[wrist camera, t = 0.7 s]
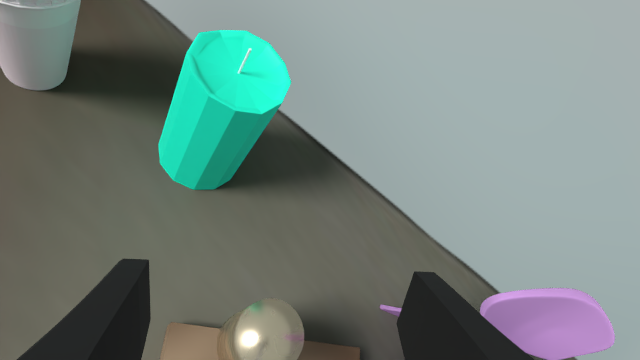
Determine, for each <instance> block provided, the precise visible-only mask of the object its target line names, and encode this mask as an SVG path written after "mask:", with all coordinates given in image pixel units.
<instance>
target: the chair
mask: <svg viewBox="0 0 640 360" xmlns="http://www.w3.org/2000/svg"><path fill="white" fill-rule="evenodd" d="M380 309H382V310H384V311H386V312H389V313H391V314H394V315H396V316H399V315H400V312H401V309H402V308H396V307H391V306H386V305H380ZM480 314H481V315H482V316H483V317H484V318H485V319H487V320H488V321H489V322H490V323H491V324H492V325H493V326H494V327H496V328H497V329H498V330H499V331H500V332H501V333H502V334H504V335H505V336H506V337H507V338H508V339H509V340H511V341H512V342H513V343H514V344H516V345H517V346H518V347H519V348H520V349H522V350H523V351H524V352H525V353H528V354H531V355H534V356H537V357H540V358H543V359H546V360H560V359H565V358H570V357H574V356H579V355H585V354H589V353H595V352H599V351H603V350H606V349H608V348H610V347H611V346H612V345H613V344H614V340H615V335H614V330H613V327H612V325H611V322H610V321H609V319H608V317H607V315H606V314H605V312H604V310H603V309H602V308H601V306H600V305H599V303H598V302H597V301H596V300H595V299H594V298H593V297H591V296H590V295H588V294H586V293H584V292H582V291H579V290H576V289H569V288H542V289H529V290H519V291H511V292H505V293H500V294H497V295H493V296H491V297H489V298H487V299H486V300H485V301H484V302H483V303H482V305H481V308H480Z"/></svg>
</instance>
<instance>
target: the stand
mask: <svg viewBox="0 0 640 360" xmlns="http://www.w3.org/2000/svg"><path fill="white" fill-rule="evenodd" d="M219 331H220V329H218V328H211V327H204V326H196V325H189V324H182V323H174V322H171V323H170V324H169V325H168V326H167V330H166V335H165V339H164V343H163V348H162V352H161V356H160V360H219V357H218V354H217V338H218V334H219ZM297 360H360V348H357V347H350V346H343V345H335V344H328V343H321V342H313V341H306V340H304V344H303V348H302V351H301V353H300V355H299V357H298V358H297Z"/></svg>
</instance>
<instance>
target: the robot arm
mask: <svg viewBox="0 0 640 360" xmlns="http://www.w3.org/2000/svg"><path fill="white" fill-rule="evenodd" d="M149 323H150V286H149V260H141V259H122V260H121V261H119V262H118V263H117V264H116V265H115V266H114V268H113V269H112V270H111V271H110V272H109V273H108V274H107V275H106V276H105V277H104V278H103V279H102V280H101V281H100V283H99V284H98V285H97V286H96V287H95V288H94V289H93V290H92V291H91V292H90V293H89V294H88V295H87V296H86V297H85V298H84V299H83V300H82V301H81V302H80V303H79V304H78V305H77V306H76V307H75V308H74V309H73V310H71V311H70V312H69V313H68V314H67V315H66V316H65V317H64V318H63V319H62V320H61V321H60V322H59V323H58V324H57V325H56V326H55V327H53V328H52V329H51V330H50V331H49V332H48V333H47V334H46V335H44V336H43V337H42V338H41V339H40V340H39V341H38V342H36V343H35V344H34V345H33V346H32V347H31V348H30V349H29V350H27V351H26V352H25V353H24V354H23V355H22V356H20V357H19V358H18V359H17V360H141V358H142V353H143V349H144V345H145V341H146V337H147V332H148V328H149ZM397 327H398V332H399V336H400V341H401V345H402V349H403V353H404V357H405V360H534V359H533V358H532V357H530V356H529V355H528V354H527V353H525V352H524V351H523V350H522V349H520V348H519V347H518V346H517V345H516V344H514V343H513V342H512V341H511V340H509V339H508V338H507V337H506V336H505V335H504V334H502V333H501V332H500V331H499V330H498V329H497V328H496V327H494V326H493V325H492V324H491V323H490V322H489V321H488V320H487V319H485V318H484V317H483V316H482V315H481V314H480V313H479V312H478V311H477V310H475V309H474V308H473V307H472V306H471V305H470V304H469V303H468V302H467V301H466V300H465V299H463V298H462V297H461V296H460V295H459V294H458V293H457V292H456V291H455V290H454V289H453V288H451V287H450V286H449V285H448V284H447V283H446V282H445V281H444V280H443V279H441V278H440V277H439V276H438V275H437V274H435V273H434V272H414V274H413V277H412V280H411V283H410V286H409V289H408V292H407V295H406V298H405V300H404V303H403V306H402V309H401V312H400V315H399V318H398V321H397Z"/></svg>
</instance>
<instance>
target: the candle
mask: <svg viewBox="0 0 640 360" xmlns="http://www.w3.org/2000/svg"><path fill="white" fill-rule="evenodd" d="M290 84H291V80H290V78H289V74H288V71H287V68H286V65H285V63H284V61H283V60H282V59H281V57H280V56H279V55H278V54H277V52H276V51H275V50H274V49H273V47H272V46H271V45H270V43H268V42H266V41H264V40H262V39H261V38H259V37H257V36H255V35H253V34H251V33H250V32H248V31H236V30H217V31H209V32H200V33H199V34H198V35H197V37H196V38H195V40H194V41H193V43H192V45H191V46H190V48H189V49H188V51H187V53H186V56H185V59H184V63H183V66H182V69H181V72H180V76H179V79H178V82H177V86H176V89H175V92H174V95H173V99H172V102H171V105H170V109H169V112H168V115H167V118H166V122H165V125H164V128H163V132H162V135H161V138H160V141H159V145H158V146H159V156H160V164H161V165H162V167H163V168H164V169H165V170H166V172H167V173H168V174H169V176H170V177H171V178H172V179H173V181H176V182H178V183H180V184H182V185H184V186H186V187H189V188H191V189H193V190H207V189H216V188H218V187H219V186H221V185H223V184H224V183H226V182H228V181H229V180H231V178H232V177H233V175H234V174H235V172H236V171H237V169H238V168H239V166H240V165H241V163H242V162H243V160H244V159H245V157H246V156H247V154H248V153H249V151H250V150H251V148H252V147H253V145H254V144H255V142H256V141H257V140H258V138H259V137H260V135H261V134H262V132H263V131H264V129H265V128H266V126H267V125H268V123H269V122H270V120H271V119H272V117H273V116H274V114H275V113H276V111H277V110H278V108H279V107H280V105H281V104H282V102H283V100H284V97H285V95H286V93H287V91H288V89H289V86H290Z"/></svg>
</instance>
